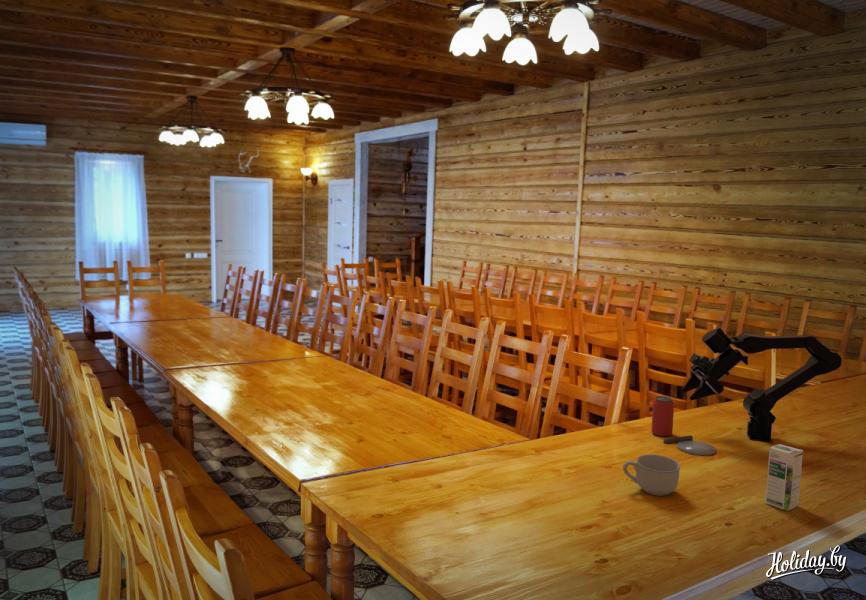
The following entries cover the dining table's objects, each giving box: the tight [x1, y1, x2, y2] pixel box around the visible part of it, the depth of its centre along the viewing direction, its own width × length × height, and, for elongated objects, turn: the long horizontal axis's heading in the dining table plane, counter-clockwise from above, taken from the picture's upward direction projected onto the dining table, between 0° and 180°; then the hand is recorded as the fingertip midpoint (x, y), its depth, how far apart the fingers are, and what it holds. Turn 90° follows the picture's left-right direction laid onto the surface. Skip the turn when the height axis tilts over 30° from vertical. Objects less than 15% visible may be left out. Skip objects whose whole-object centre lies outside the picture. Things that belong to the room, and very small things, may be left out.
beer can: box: [651, 395, 675, 437], centre depth 218 cm, size 7×7×12 cm
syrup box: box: [764, 443, 804, 512], centre depth 163 cm, size 6×6×14 cm
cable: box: [662, 434, 694, 445], centre depth 211 cm, size 11×2×2 cm, turn 111°
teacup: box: [622, 453, 681, 497], centre depth 172 cm, size 14×11×8 cm
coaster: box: [676, 440, 717, 456], centre depth 204 cm, size 11×11×1 cm
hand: (686, 395), depth 216 cm, fingers open, 9 cm apart
